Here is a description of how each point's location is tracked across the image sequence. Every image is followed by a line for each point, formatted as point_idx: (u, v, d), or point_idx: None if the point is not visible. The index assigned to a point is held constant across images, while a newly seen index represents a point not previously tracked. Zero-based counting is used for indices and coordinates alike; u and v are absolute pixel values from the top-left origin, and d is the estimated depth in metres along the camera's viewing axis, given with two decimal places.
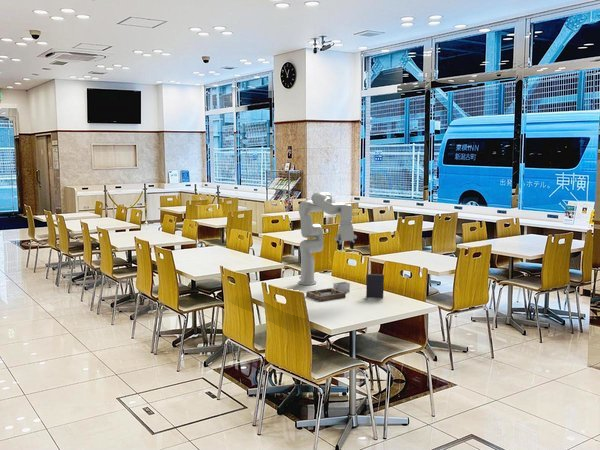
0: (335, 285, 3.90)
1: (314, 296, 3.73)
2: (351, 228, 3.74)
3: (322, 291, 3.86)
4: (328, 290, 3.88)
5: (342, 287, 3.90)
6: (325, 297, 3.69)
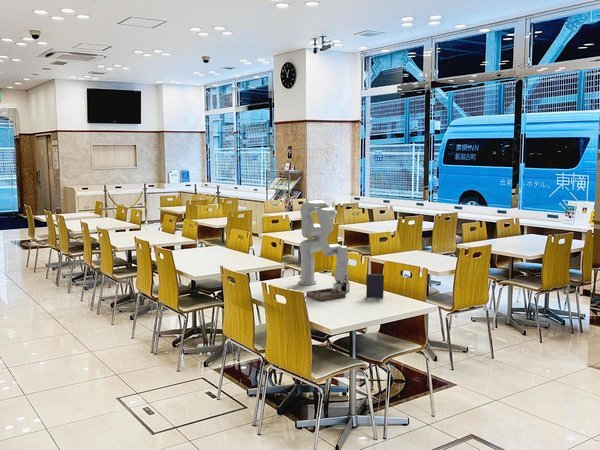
0: (335, 285, 3.90)
1: (314, 296, 3.73)
2: None
3: (322, 291, 3.86)
4: (328, 290, 3.88)
5: None
6: (325, 297, 3.69)
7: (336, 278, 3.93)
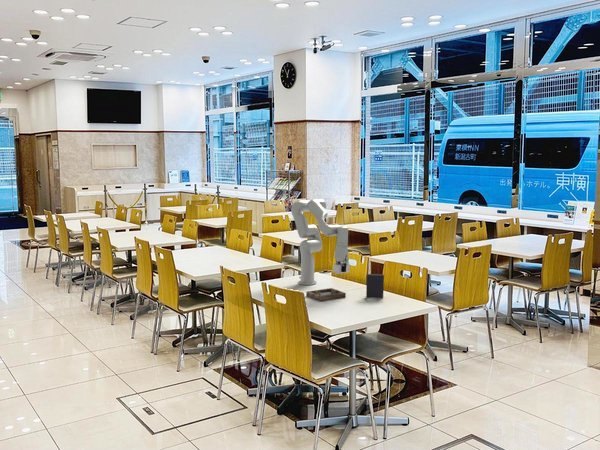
0: (335, 265, 3.89)
1: (314, 296, 3.73)
2: None
3: (322, 291, 3.86)
4: (328, 290, 3.88)
5: None
6: (325, 297, 3.69)
7: (336, 258, 3.91)
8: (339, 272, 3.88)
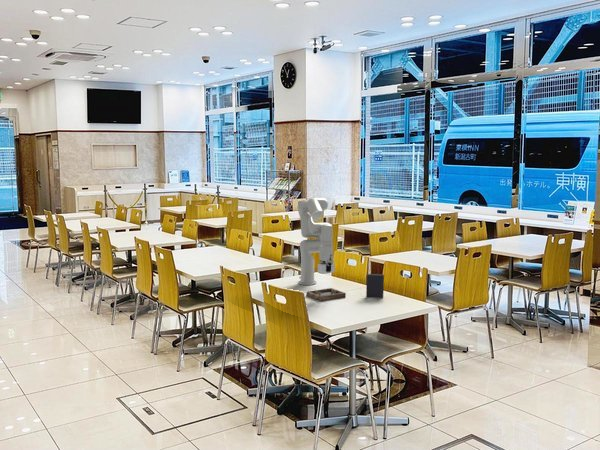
0: (320, 265, 3.74)
1: (314, 296, 3.73)
2: None
3: (322, 291, 3.86)
4: (328, 290, 3.88)
5: None
6: (325, 297, 3.69)
7: (320, 258, 3.77)
8: (324, 272, 3.73)
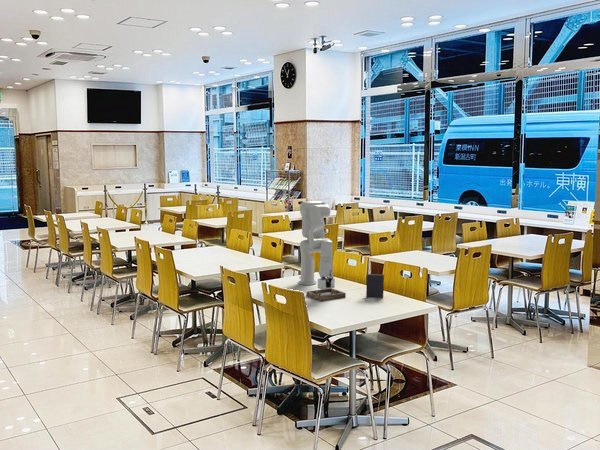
0: (319, 281, 3.75)
1: (314, 296, 3.73)
2: None
3: (322, 291, 3.86)
4: (328, 290, 3.88)
5: None
6: (325, 297, 3.69)
7: (320, 274, 3.78)
8: (324, 288, 3.74)
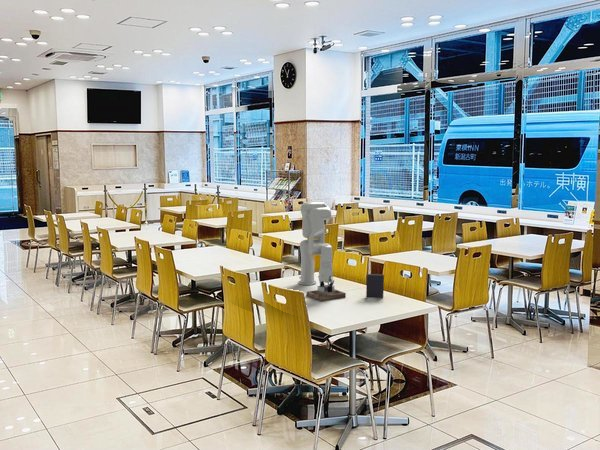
0: (319, 288, 3.76)
1: (314, 296, 3.73)
2: None
3: None
4: None
5: (326, 289, 3.76)
6: (325, 297, 3.69)
7: (320, 279, 3.78)
8: (323, 295, 3.75)
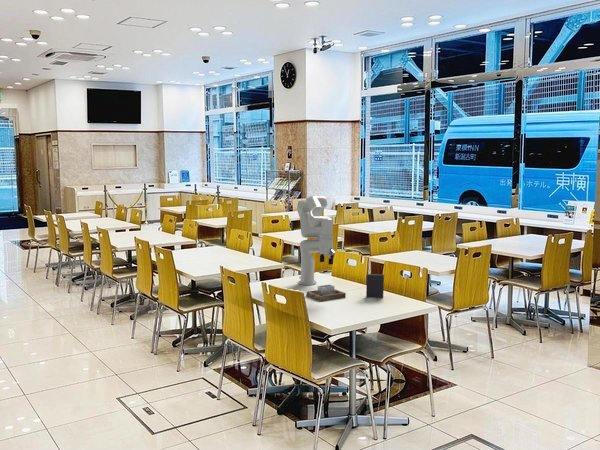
0: (319, 288, 3.76)
1: (314, 296, 3.73)
2: None
3: None
4: None
5: (326, 289, 3.76)
6: (325, 297, 3.69)
7: (321, 252, 3.76)
8: (323, 295, 3.75)
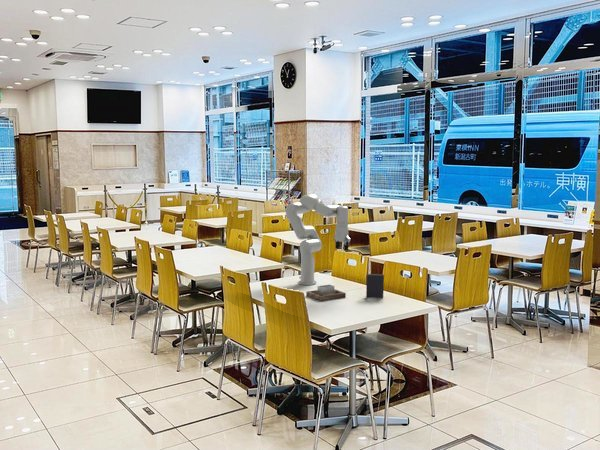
0: (319, 288, 3.76)
1: (314, 296, 3.73)
2: None
3: None
4: None
5: (326, 289, 3.76)
6: (325, 297, 3.69)
7: (336, 239, 3.93)
8: (323, 295, 3.75)
